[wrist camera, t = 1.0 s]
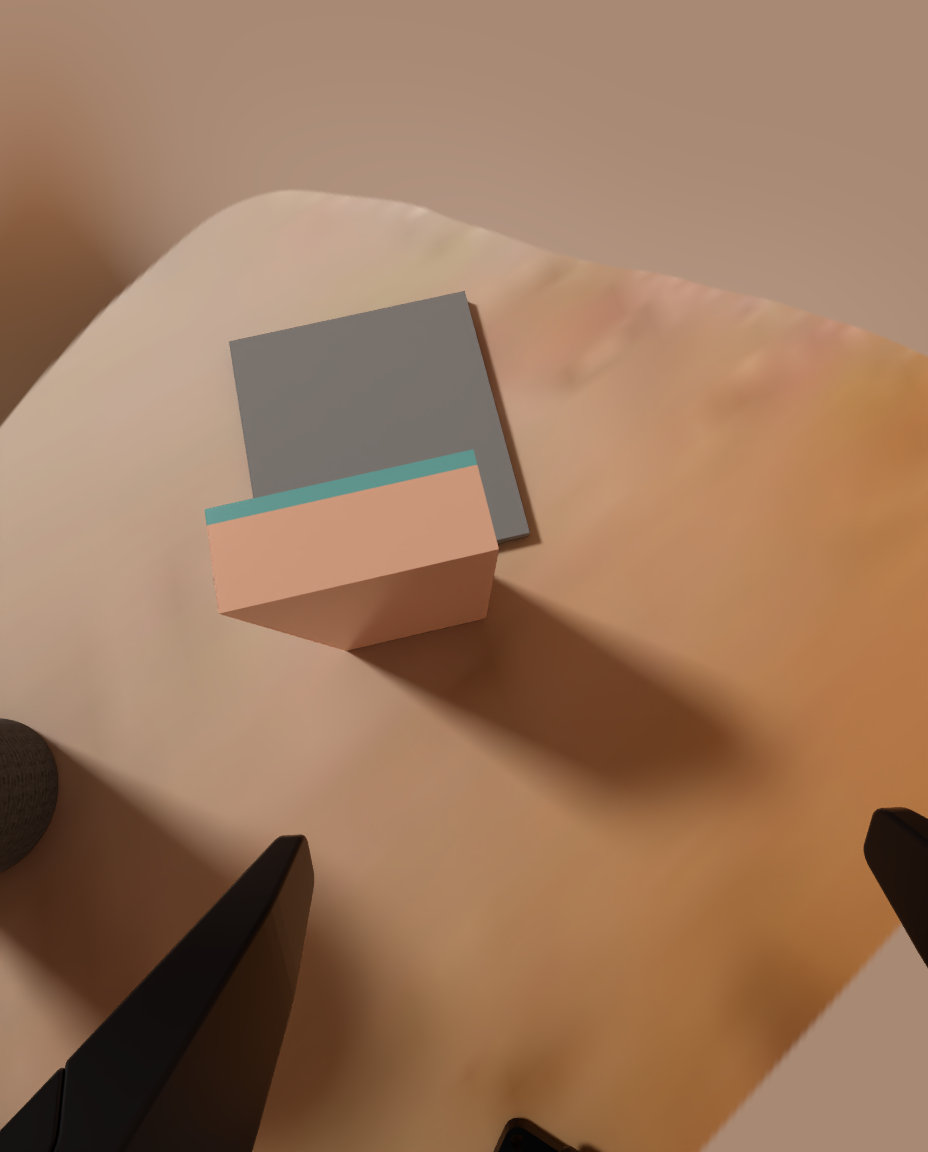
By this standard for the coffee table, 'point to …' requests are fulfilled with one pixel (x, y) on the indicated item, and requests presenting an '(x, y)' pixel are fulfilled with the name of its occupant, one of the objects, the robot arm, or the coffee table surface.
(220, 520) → the tile
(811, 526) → the coffee table surface
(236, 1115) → the robot arm
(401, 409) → the mat
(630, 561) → the coffee table surface
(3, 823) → the coffee cup
